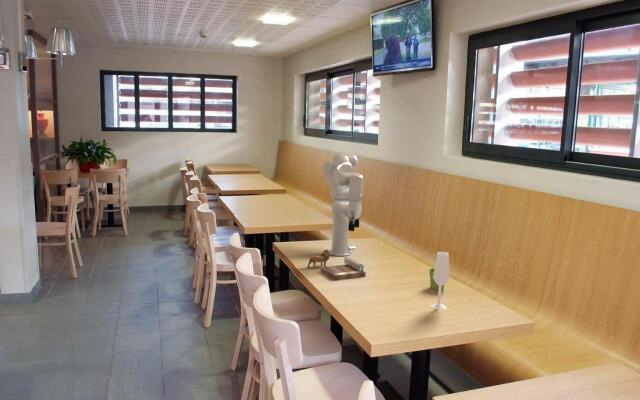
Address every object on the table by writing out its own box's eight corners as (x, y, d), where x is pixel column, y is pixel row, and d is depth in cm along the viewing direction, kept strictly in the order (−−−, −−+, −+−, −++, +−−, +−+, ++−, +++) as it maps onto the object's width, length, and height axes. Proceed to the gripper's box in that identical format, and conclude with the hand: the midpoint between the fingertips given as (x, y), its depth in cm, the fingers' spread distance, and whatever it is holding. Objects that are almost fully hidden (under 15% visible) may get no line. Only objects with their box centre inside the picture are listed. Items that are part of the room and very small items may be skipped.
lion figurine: (325, 264, 278) (326, 248, 277) (331, 266, 274) (332, 250, 273) (304, 268, 269) (304, 251, 268) (310, 270, 265) (311, 254, 264)
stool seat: (350, 268, 272) (350, 263, 272) (365, 276, 259) (365, 271, 258) (320, 271, 264) (320, 267, 263) (334, 280, 251) (334, 275, 250)
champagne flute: (449, 309, 218) (454, 255, 214) (435, 310, 216) (439, 255, 212) (441, 303, 224) (445, 250, 220) (427, 304, 222) (431, 251, 218)
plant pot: (448, 286, 248) (449, 269, 246) (446, 292, 239) (447, 275, 238) (428, 284, 251) (429, 267, 249) (426, 289, 242) (427, 272, 241)
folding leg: (364, 271, 258) (364, 265, 258) (360, 271, 257) (360, 265, 257) (348, 262, 273) (348, 257, 272) (344, 263, 271) (344, 257, 271)
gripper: (352, 194, 281) (351, 225, 284) (344, 199, 265) (342, 231, 267) (366, 196, 278) (364, 226, 281) (358, 200, 262) (356, 233, 265)
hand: (353, 229), depth 274 cm, fingers open, 9 cm apart
